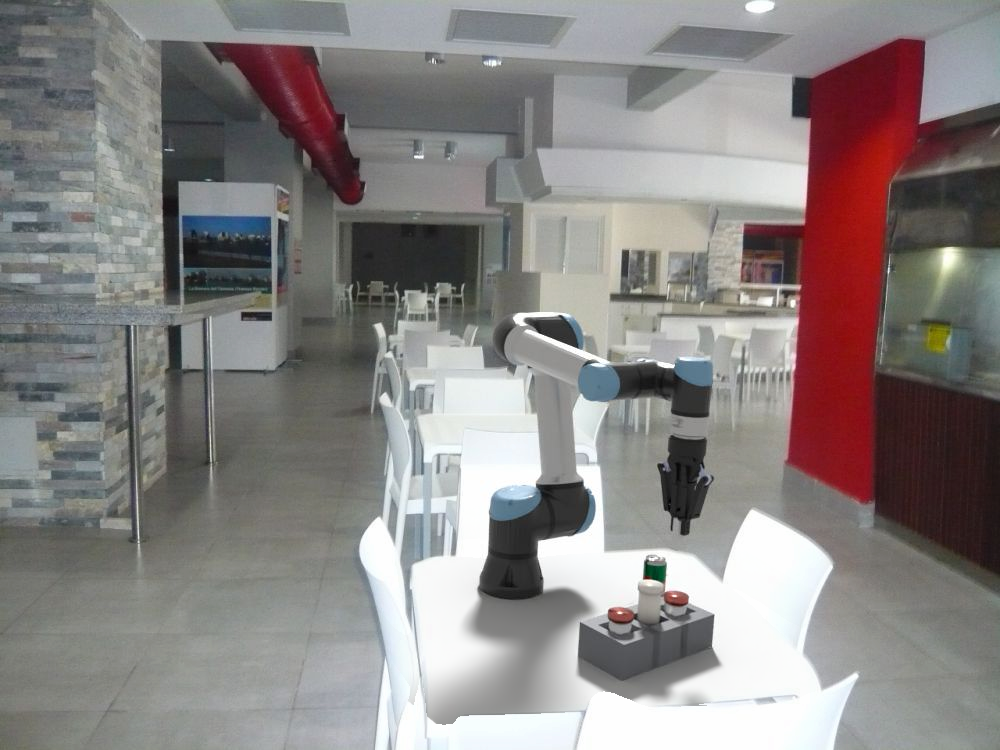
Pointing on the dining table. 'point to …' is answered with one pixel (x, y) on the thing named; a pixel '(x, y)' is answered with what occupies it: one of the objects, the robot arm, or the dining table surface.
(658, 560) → the soda can
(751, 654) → the dining table surface
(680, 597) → the clear jar
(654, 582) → the white capped bottle
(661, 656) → the gray vial holder
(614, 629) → the red-capped vial
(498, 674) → the dining table surface
